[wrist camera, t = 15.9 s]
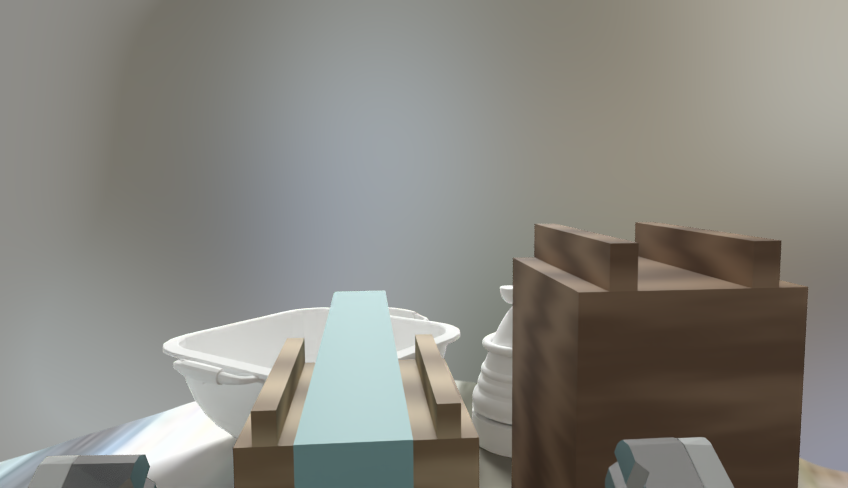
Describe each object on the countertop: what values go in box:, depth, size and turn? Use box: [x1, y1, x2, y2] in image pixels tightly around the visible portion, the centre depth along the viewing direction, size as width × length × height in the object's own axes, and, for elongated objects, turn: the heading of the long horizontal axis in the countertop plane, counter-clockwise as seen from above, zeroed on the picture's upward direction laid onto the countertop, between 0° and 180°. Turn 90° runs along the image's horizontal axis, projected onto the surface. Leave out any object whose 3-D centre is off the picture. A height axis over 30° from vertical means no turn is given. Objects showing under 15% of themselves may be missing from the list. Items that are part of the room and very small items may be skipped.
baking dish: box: [163, 308, 460, 439], centre depth 78 cm, size 34×28×13 cm
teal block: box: [293, 291, 414, 488], centre depth 32 cm, size 26×4×3 cm, turn 5°
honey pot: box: [472, 286, 513, 458], centre depth 76 cm, size 13×13×18 cm
